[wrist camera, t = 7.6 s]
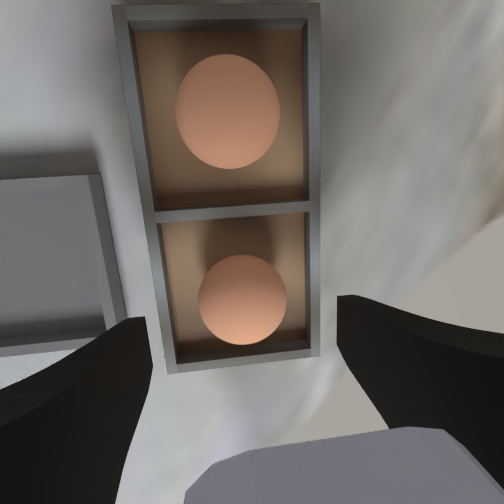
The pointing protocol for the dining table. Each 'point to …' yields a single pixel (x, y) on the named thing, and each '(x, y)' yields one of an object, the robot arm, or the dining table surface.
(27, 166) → the dining table surface
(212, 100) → the ball
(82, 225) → the shallow grey square tray
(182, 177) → the pair tray
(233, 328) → the terracotta ball
